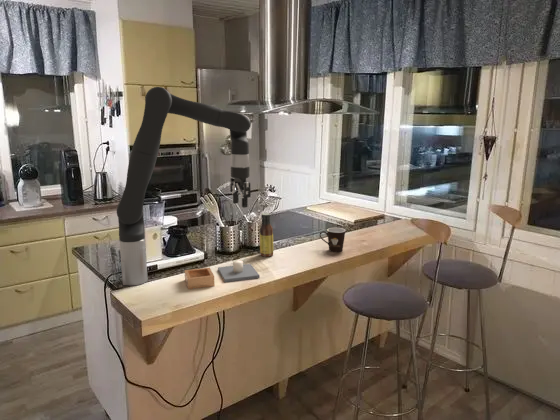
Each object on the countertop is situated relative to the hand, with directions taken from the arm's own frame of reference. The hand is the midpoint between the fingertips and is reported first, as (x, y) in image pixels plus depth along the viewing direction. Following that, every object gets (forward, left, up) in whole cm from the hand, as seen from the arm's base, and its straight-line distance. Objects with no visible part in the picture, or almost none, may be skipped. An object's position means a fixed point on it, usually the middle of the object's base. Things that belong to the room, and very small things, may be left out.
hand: (240, 205), depth 177 cm
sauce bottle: (+16, +15, -28) cm, 35 cm away
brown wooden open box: (-19, -9, -28) cm, 35 cm away
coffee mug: (+49, +13, -28) cm, 57 cm away
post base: (-2, -4, -28) cm, 28 cm away
